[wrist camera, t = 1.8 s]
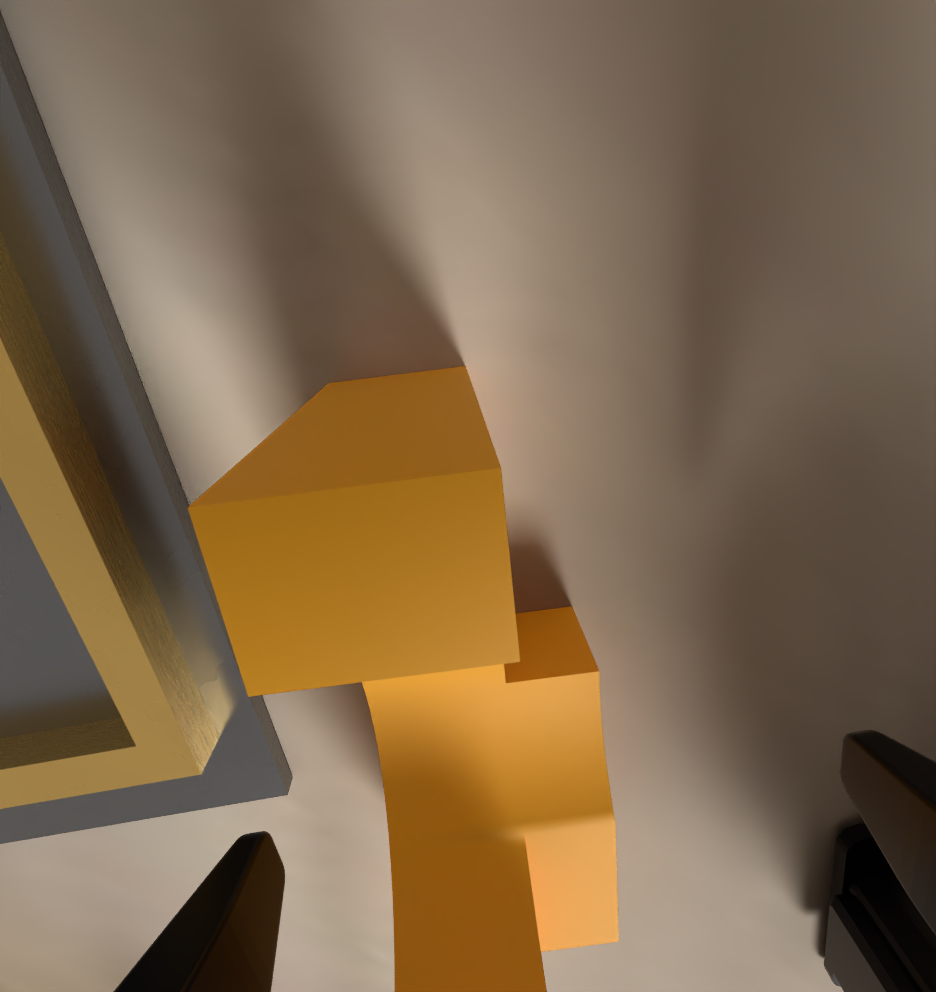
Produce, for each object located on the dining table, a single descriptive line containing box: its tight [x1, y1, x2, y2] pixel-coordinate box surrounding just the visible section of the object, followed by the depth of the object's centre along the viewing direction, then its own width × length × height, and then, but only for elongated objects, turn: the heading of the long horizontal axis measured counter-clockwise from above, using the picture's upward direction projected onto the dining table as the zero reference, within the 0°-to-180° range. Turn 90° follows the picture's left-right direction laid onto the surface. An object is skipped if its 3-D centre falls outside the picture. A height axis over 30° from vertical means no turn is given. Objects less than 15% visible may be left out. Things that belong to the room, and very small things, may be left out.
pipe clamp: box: [188, 366, 619, 992], centre depth 10 cm, size 12×4×6 cm, turn 7°
